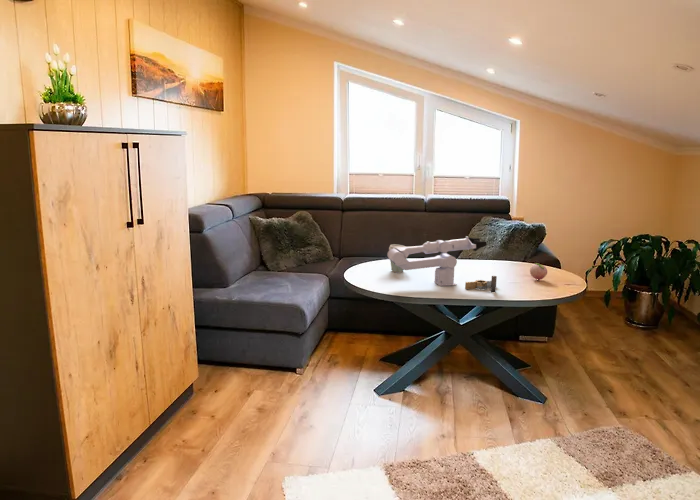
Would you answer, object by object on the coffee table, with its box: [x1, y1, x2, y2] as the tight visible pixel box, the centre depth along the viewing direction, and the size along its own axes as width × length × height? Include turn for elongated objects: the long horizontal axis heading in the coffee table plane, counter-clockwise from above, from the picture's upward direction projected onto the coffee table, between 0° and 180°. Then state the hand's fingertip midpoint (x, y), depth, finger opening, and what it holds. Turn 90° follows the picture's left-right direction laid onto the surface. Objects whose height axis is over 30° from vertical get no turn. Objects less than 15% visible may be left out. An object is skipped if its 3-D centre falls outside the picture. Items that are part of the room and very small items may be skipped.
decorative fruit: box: [529, 262, 548, 281], centre depth 299 cm, size 9×8×10 cm
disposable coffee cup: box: [388, 243, 407, 274], centre depth 313 cm, size 11×11×15 cm
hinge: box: [464, 279, 491, 291], centre depth 283 cm, size 17×6×4 cm, turn 104°
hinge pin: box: [490, 275, 497, 293], centre depth 276 cm, size 2×2×8 cm
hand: (482, 242), depth 290 cm, fingers open, 7 cm apart
